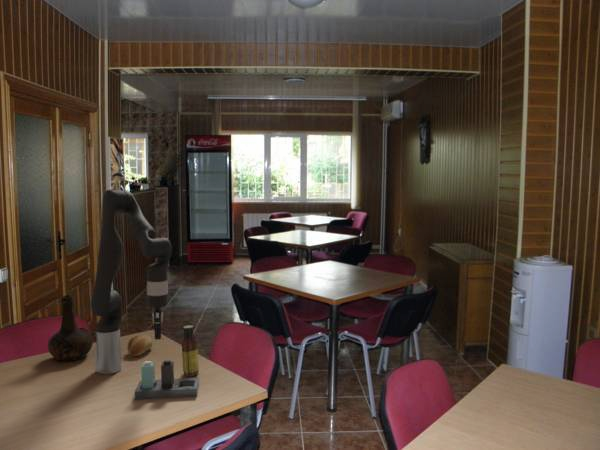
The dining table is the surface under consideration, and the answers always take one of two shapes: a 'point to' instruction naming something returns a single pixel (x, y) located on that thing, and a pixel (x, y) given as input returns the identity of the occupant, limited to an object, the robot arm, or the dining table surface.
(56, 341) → the glass bottle
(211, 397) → the dining table surface
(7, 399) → the dining table surface
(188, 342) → the sauce bottle
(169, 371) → the gray slotted rack
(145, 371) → the plug
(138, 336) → the bread roll
